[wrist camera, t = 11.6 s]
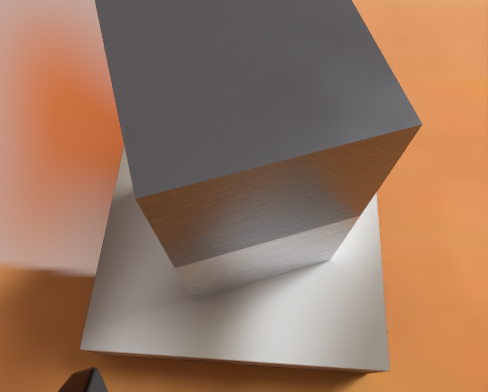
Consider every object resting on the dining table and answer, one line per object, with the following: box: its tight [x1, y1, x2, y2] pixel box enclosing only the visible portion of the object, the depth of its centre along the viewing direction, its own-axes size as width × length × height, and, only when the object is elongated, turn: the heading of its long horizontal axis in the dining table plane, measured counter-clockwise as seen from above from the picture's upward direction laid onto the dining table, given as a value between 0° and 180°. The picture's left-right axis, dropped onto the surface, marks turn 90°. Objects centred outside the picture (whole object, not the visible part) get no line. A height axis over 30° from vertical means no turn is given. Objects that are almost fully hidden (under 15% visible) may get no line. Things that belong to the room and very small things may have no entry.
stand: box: [80, 146, 390, 373], centre depth 20 cm, size 12×12×3 cm
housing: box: [95, 0, 422, 300], centre depth 14 cm, size 6×6×10 cm
